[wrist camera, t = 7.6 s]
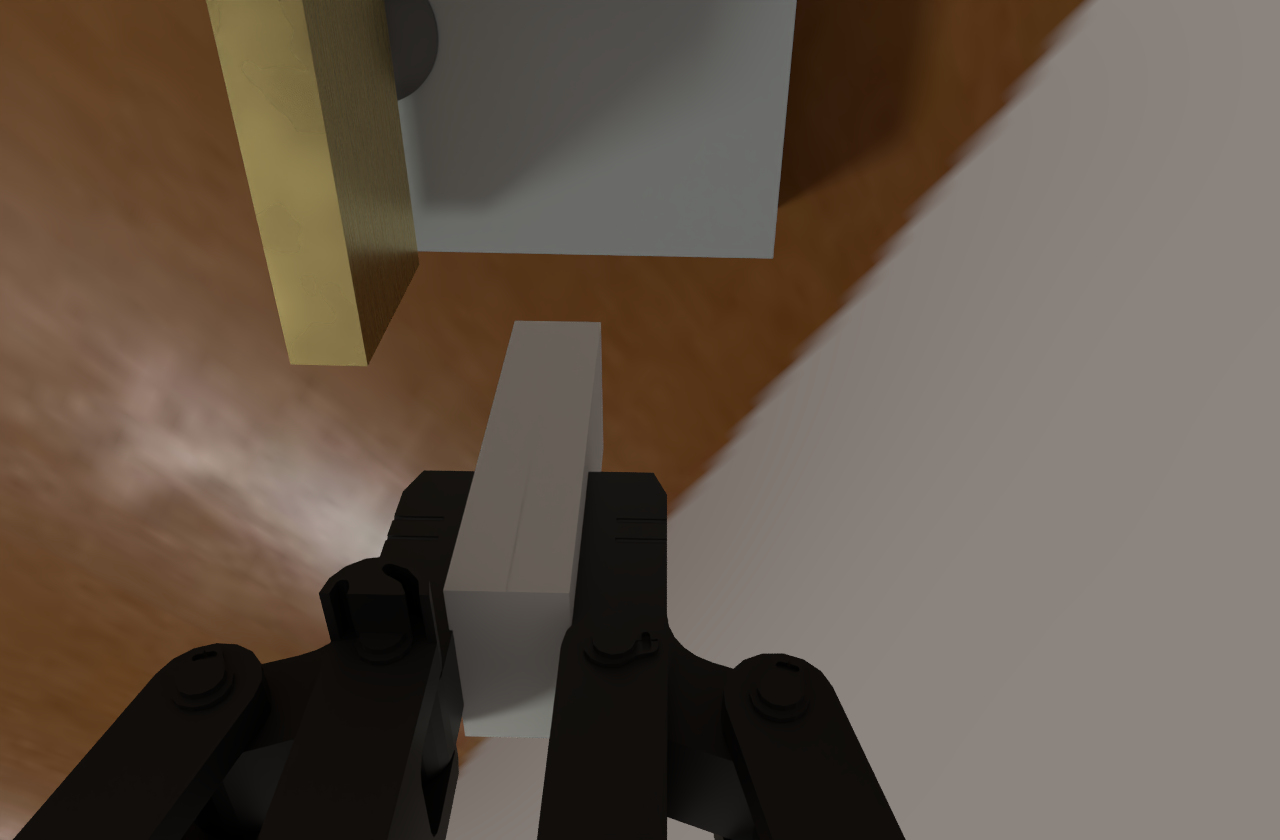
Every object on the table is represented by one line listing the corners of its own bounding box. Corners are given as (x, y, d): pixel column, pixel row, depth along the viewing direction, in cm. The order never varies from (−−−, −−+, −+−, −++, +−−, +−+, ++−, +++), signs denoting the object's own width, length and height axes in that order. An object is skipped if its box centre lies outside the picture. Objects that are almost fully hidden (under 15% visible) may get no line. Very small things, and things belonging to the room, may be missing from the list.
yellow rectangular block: (427, 248, 31) (367, 365, 25) (365, 246, 31) (290, 364, 25) (364, -248, 23) (257, -249, 17) (282, -250, 23) (148, -250, 18)
